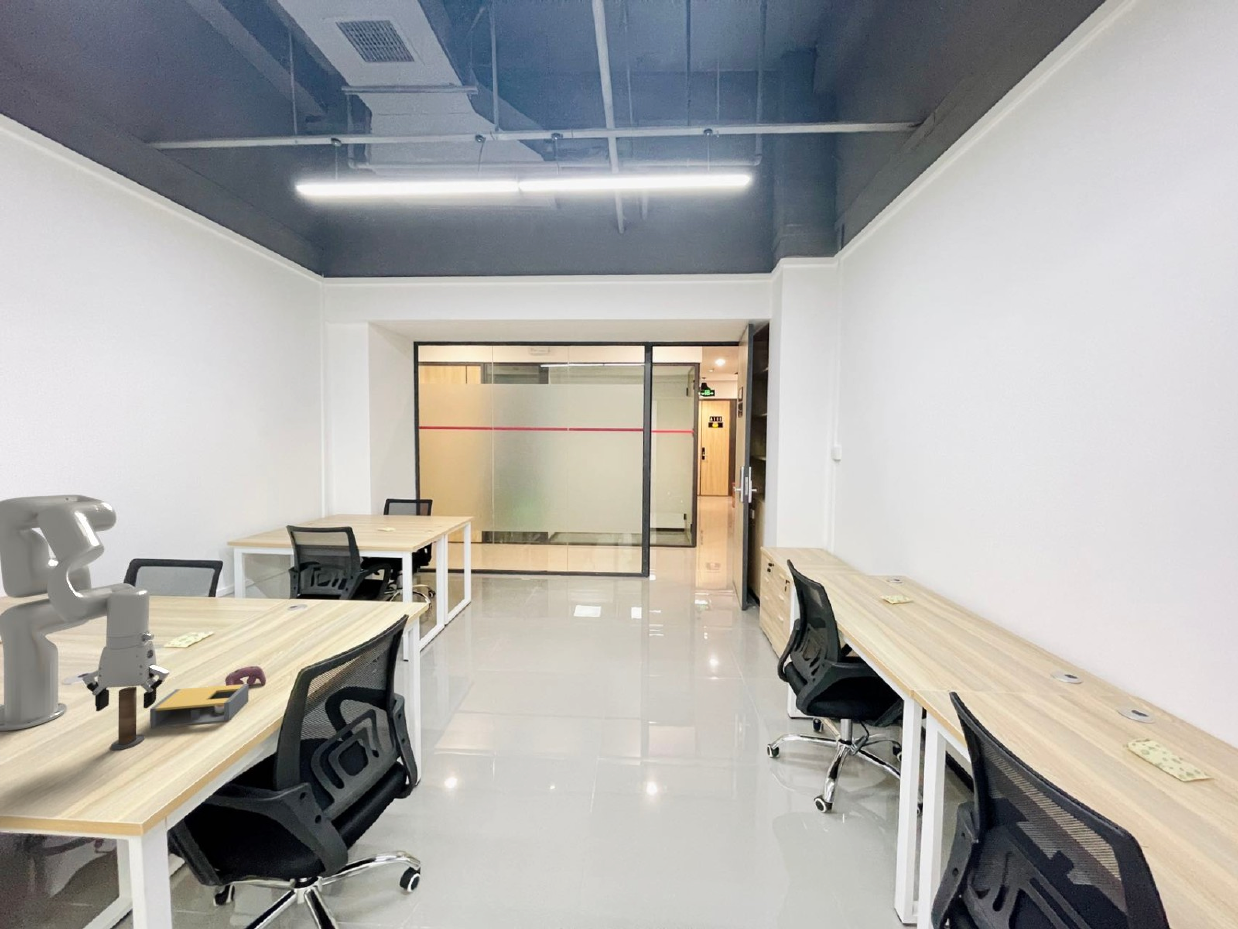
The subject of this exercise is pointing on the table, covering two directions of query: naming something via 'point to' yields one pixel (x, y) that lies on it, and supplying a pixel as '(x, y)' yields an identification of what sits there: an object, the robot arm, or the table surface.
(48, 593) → the robot arm
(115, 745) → the rubber pad
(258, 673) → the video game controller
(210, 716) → the tan flat boxy piece
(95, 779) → the table surface
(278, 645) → the table surface
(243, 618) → the table surface
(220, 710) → the breaker button
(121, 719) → the brown tall bar piece
